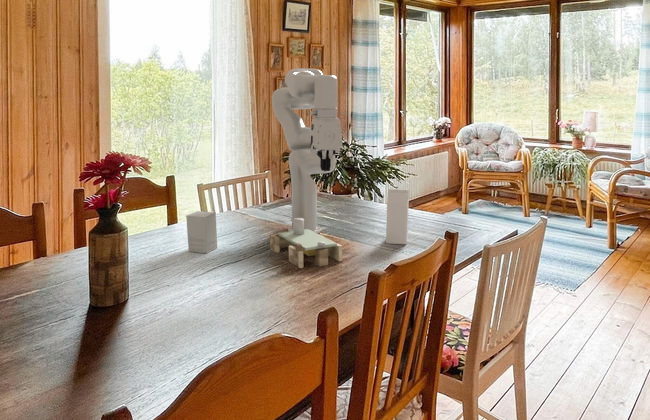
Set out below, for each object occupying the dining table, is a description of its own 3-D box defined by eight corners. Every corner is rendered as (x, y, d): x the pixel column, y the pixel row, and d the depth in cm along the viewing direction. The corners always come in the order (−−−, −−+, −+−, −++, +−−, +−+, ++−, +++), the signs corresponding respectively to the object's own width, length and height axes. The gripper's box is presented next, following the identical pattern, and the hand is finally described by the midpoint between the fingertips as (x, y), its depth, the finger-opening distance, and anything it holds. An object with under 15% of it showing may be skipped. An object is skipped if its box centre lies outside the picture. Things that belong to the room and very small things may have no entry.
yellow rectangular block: (300, 252, 186) (300, 243, 185) (309, 250, 187) (309, 242, 187) (308, 256, 181) (308, 248, 180) (317, 255, 182) (317, 246, 182)
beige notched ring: (270, 248, 188) (269, 228, 187) (309, 242, 195) (309, 223, 194) (302, 269, 167) (301, 247, 166) (344, 262, 174) (344, 240, 173)
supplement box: (218, 247, 190) (216, 212, 187) (206, 253, 183) (205, 216, 180) (199, 245, 192) (197, 210, 189) (187, 251, 185) (185, 215, 182)
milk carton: (406, 244, 193) (408, 191, 189) (385, 243, 195) (387, 190, 191) (407, 239, 200) (409, 188, 196) (387, 238, 202) (389, 187, 197)
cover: (278, 235, 185) (278, 218, 184) (307, 231, 191) (307, 215, 189) (307, 251, 167) (307, 233, 166) (338, 246, 172) (338, 228, 171)
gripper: (310, 115, 172) (310, 173, 176) (351, 114, 179) (350, 170, 183) (299, 114, 178) (300, 170, 182) (339, 113, 185) (339, 167, 189)
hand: (325, 170), depth 182 cm, fingers closed
